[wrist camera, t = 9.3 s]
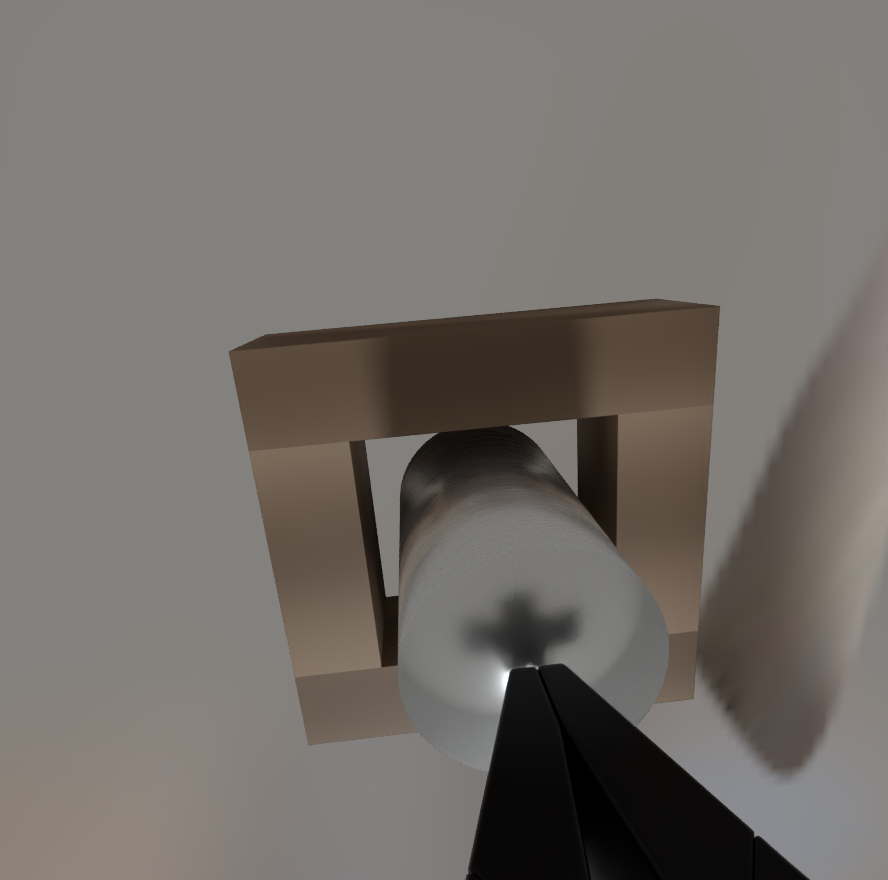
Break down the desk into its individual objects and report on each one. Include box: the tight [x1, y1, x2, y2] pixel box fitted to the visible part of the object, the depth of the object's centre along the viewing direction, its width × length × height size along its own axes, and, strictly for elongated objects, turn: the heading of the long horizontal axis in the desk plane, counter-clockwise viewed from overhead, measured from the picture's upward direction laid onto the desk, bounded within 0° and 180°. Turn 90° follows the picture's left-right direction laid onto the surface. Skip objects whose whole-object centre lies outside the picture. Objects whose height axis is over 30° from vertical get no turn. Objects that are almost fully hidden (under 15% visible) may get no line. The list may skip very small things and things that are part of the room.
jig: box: [229, 299, 720, 745], centre depth 14 cm, size 10×10×3 cm
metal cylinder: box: [398, 426, 669, 772], centre depth 12 cm, size 4×4×7 cm
